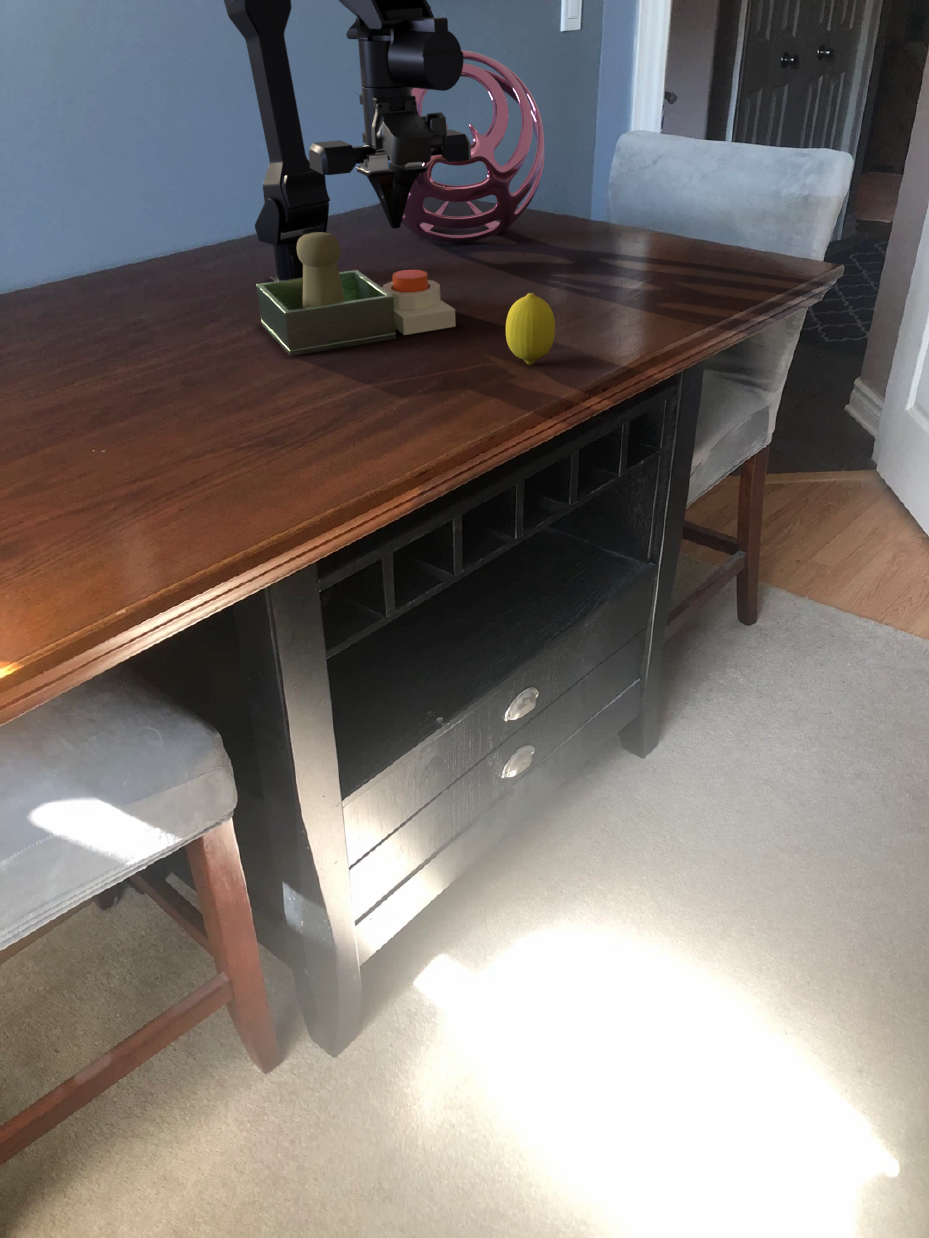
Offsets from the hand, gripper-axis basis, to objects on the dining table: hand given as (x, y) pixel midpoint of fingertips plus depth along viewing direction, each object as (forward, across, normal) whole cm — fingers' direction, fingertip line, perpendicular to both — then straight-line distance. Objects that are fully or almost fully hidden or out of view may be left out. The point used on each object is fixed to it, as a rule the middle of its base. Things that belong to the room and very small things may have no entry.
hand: (395, 228), depth 122 cm
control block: (+11, +1, -1) cm, 11 cm away
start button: (+7, +1, -1) cm, 8 cm away
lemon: (+11, +7, -24) cm, 27 cm away
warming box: (+11, -10, -1) cm, 15 cm away
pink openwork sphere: (+11, +24, +35) cm, 44 cm away
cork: (+10, -10, -1) cm, 15 cm away
